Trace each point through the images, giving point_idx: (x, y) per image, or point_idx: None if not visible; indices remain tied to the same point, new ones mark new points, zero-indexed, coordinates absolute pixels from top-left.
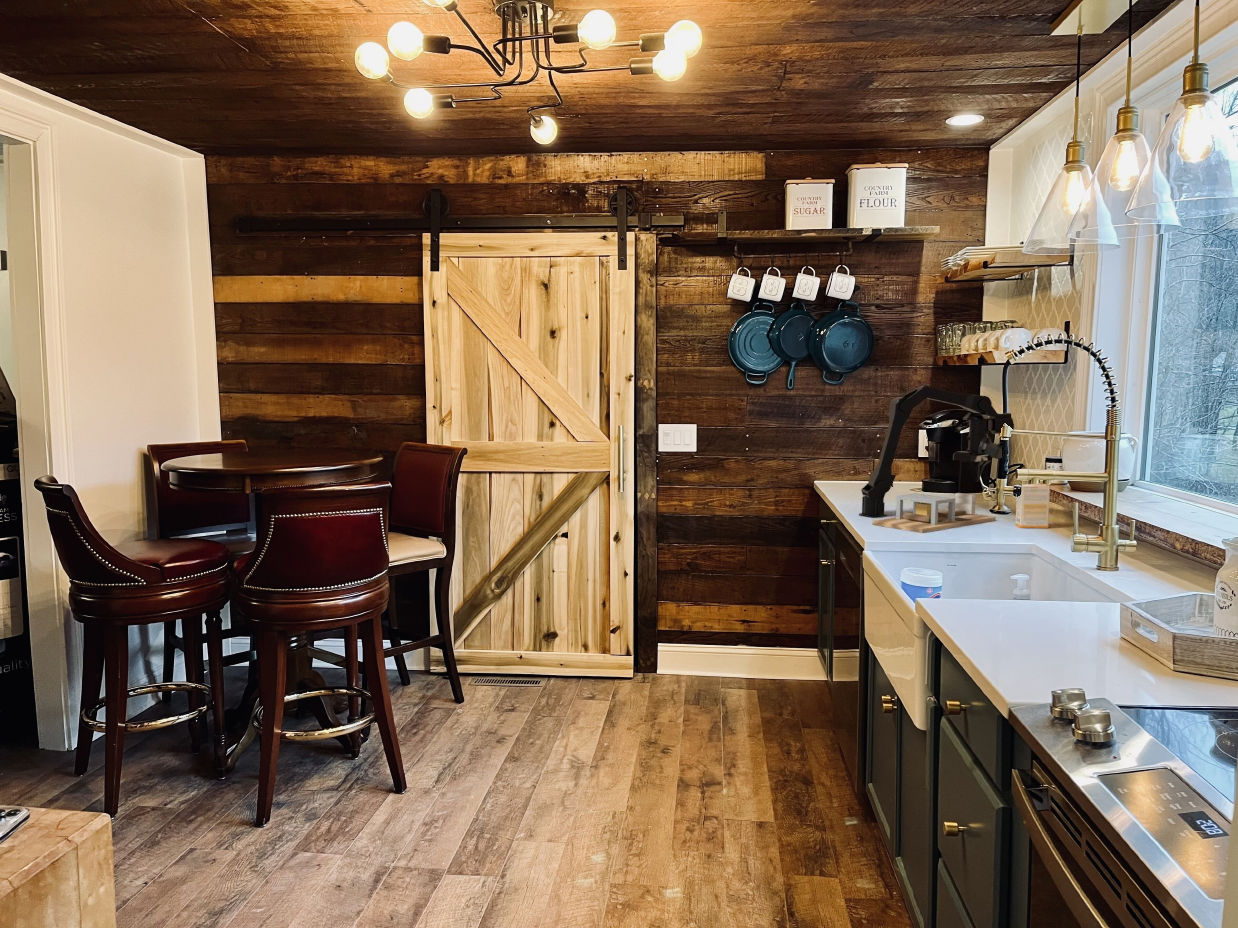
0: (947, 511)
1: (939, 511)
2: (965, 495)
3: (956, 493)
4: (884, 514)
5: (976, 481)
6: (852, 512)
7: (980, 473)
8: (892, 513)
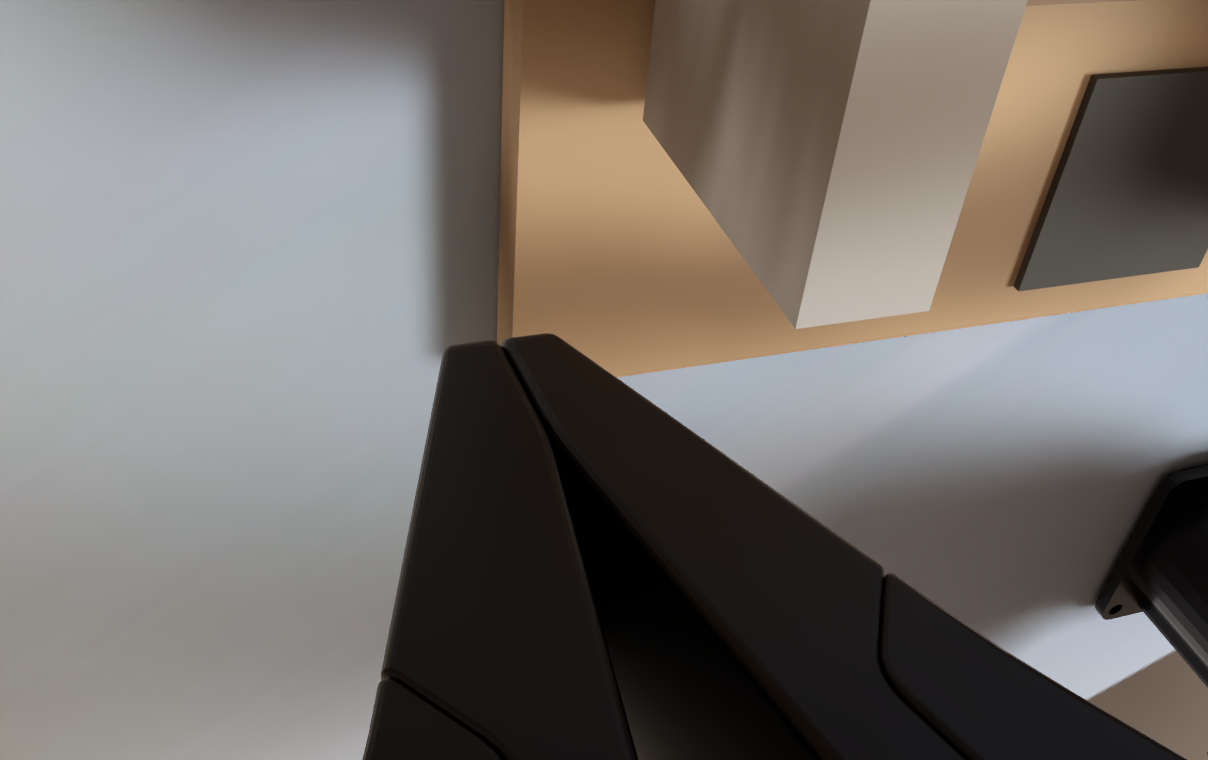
0: (641, 279)
1: (732, 329)
2: (1000, 41)
3: (903, 306)
4: (1193, 485)
5: (550, 354)
6: (1097, 686)
7: (537, 563)
8: (953, 566)
